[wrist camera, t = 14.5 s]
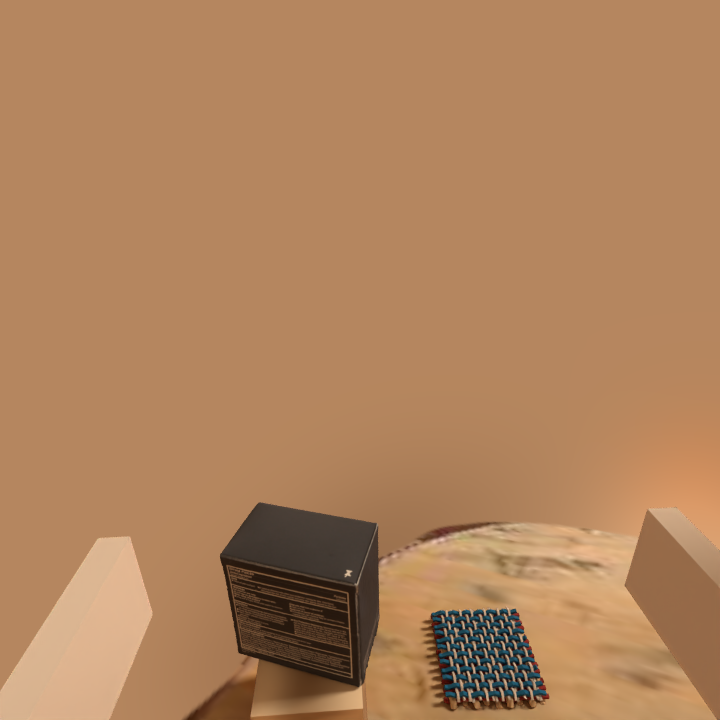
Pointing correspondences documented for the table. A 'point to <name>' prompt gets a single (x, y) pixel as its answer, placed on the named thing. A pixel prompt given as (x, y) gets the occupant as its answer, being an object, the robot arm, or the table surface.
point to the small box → (305, 590)
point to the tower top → (302, 696)
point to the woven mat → (486, 658)
